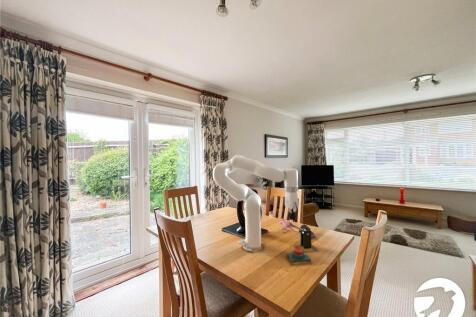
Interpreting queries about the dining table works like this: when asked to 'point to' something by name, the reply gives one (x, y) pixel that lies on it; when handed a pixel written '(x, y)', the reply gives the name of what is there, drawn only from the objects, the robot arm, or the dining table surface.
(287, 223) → the lily
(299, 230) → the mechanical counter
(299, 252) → the button
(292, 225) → the lever
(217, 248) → the dining table surface
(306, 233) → the bracket
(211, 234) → the dining table surface
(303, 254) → the button box
